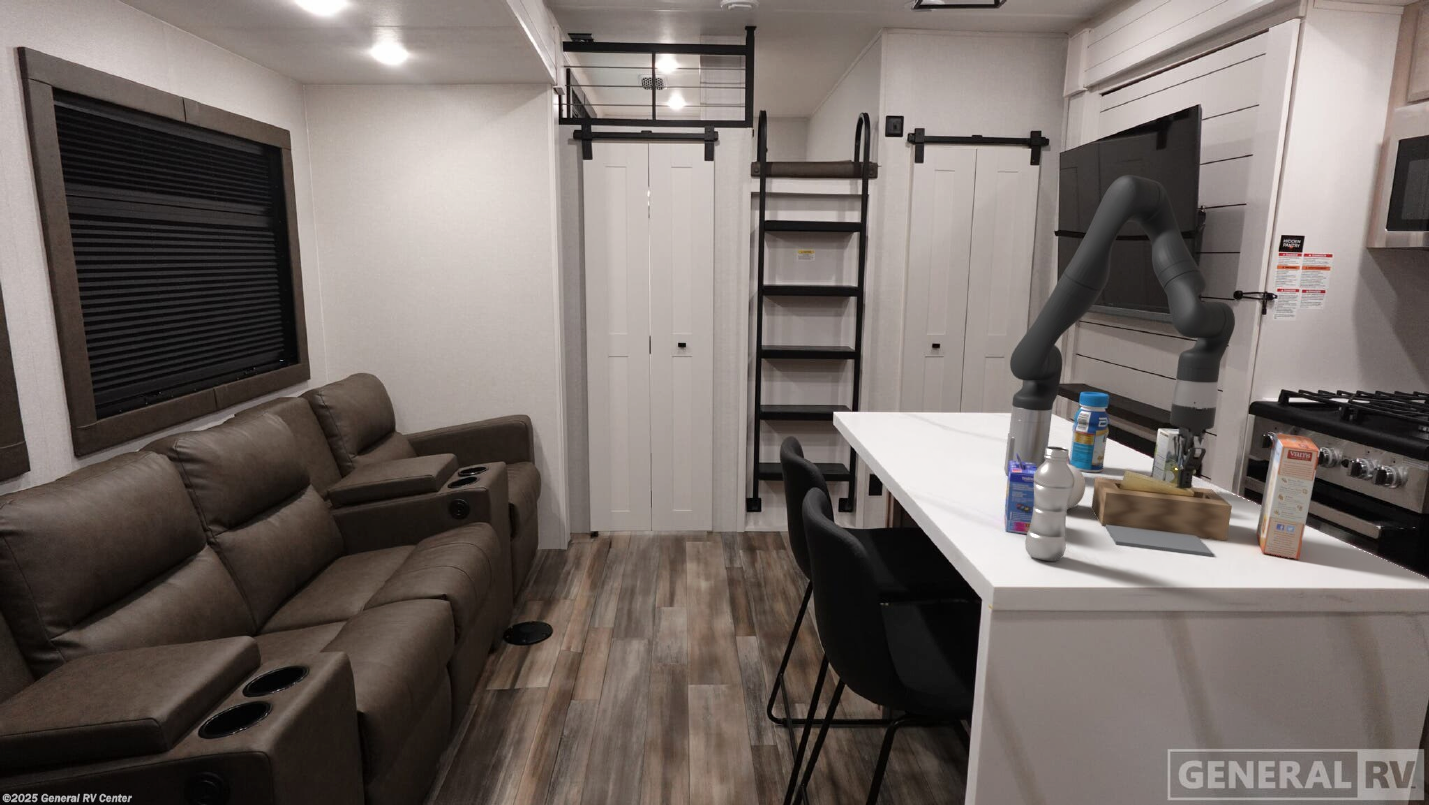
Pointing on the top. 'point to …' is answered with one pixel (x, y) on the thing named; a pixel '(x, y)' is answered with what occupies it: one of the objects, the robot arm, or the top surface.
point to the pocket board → (1162, 510)
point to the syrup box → (1164, 455)
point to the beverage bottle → (1090, 432)
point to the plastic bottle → (1050, 506)
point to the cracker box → (1287, 495)
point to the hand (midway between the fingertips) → (1183, 487)
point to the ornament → (1076, 486)
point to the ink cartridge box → (1019, 496)
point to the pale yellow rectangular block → (1152, 485)
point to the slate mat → (1158, 540)
